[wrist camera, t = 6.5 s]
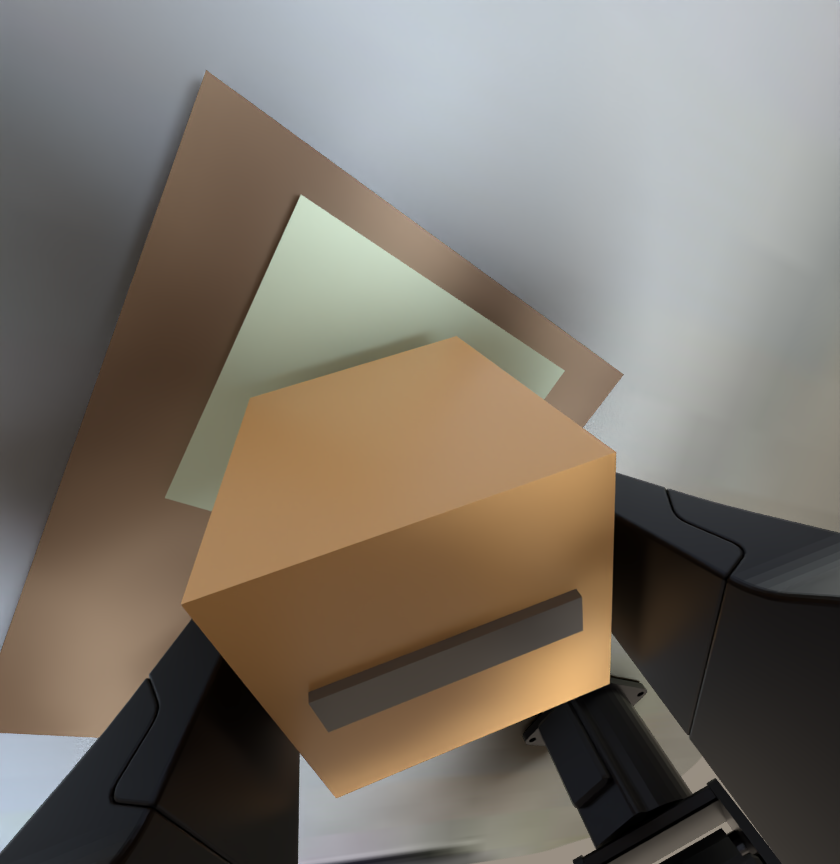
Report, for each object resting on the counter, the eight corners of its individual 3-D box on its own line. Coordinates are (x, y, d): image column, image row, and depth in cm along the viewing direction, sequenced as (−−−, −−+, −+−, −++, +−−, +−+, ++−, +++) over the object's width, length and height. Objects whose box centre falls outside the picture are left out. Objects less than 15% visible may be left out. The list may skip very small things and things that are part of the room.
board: (605, 365, 15) (623, 374, 14) (334, 727, 21) (335, 749, 20) (215, 84, 9) (205, 69, 8) (-9, 702, 15) (-28, 731, 14)
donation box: (456, 335, 10) (624, 458, 5) (485, 495, 13) (615, 691, 7) (249, 397, 9) (176, 616, 4) (323, 552, 12) (336, 809, 7)
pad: (558, 366, 13) (564, 370, 13) (418, 563, 16) (420, 570, 15) (301, 195, 10) (300, 194, 9) (168, 489, 12) (164, 497, 12)
